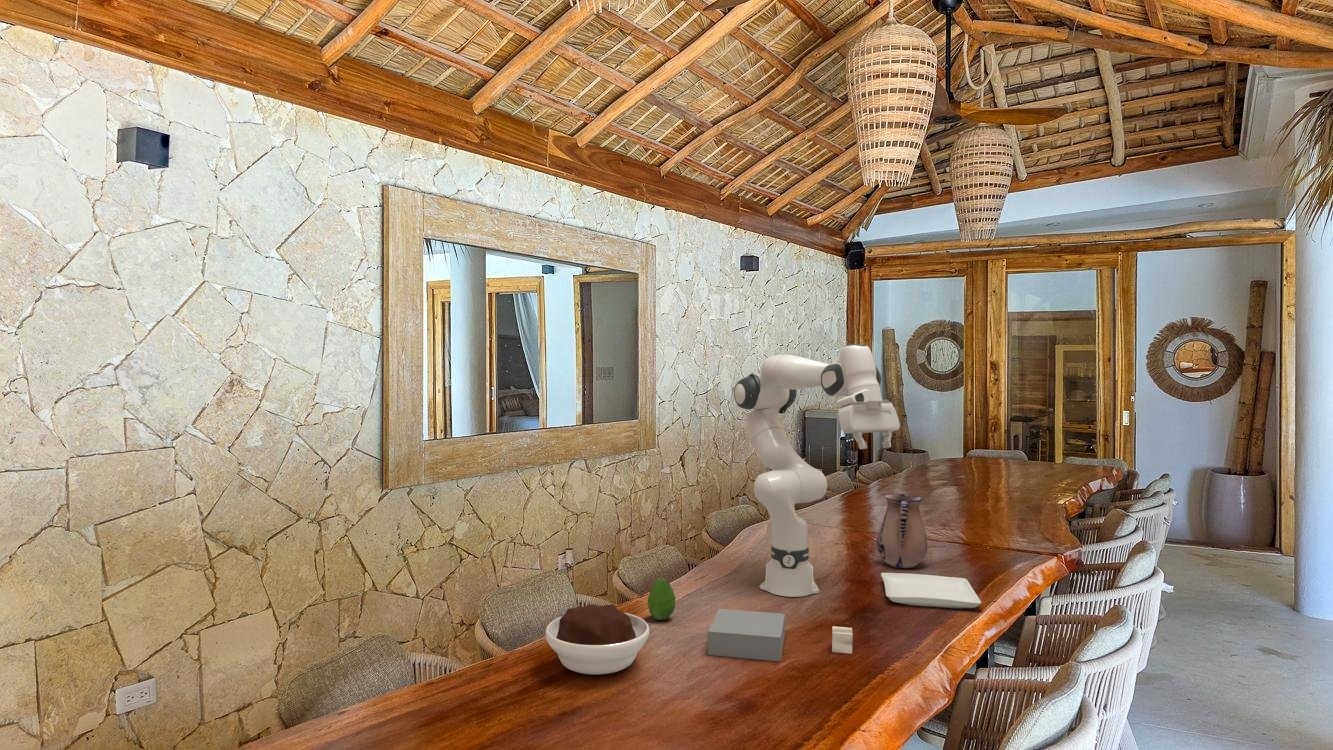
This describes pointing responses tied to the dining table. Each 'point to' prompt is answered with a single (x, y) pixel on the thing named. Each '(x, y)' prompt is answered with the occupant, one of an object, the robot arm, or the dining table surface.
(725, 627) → the pedestal
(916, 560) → the ceramic pitcher
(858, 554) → the dining table surface
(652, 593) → the avocado
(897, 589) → the square plate
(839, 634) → the cream cube
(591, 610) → the chocolate pudding bowl
